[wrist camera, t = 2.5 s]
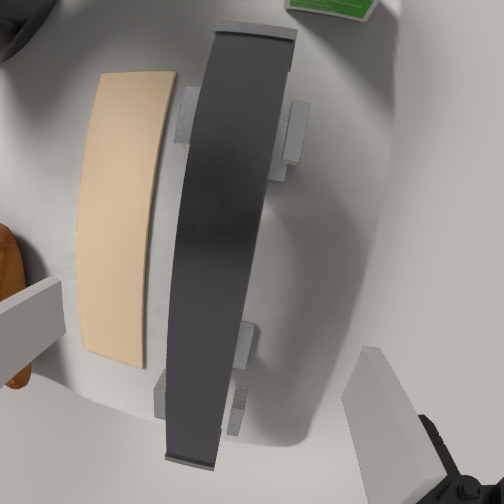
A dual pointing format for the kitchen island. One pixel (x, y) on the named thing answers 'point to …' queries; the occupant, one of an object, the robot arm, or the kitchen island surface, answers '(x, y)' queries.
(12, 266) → the inscribed clay slab
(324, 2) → the skincare box
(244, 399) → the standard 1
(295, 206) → the kitchen island surface
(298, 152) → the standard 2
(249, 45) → the rail
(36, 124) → the kitchen island surface
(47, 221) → the kitchen island surface
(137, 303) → the mat
